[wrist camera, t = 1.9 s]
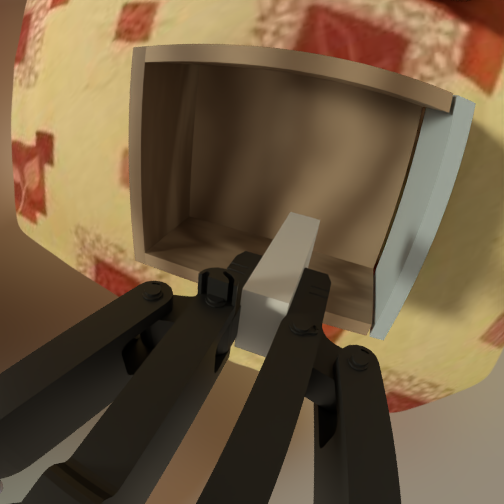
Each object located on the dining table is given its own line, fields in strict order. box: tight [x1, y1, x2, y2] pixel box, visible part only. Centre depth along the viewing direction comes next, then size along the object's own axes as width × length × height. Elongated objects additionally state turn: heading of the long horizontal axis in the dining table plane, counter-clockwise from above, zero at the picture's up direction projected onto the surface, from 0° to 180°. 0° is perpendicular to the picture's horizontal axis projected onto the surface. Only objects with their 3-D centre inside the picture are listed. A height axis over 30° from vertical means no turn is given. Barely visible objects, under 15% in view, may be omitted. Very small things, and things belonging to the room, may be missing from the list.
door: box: [370, 95, 476, 340], centre depth 20 cm, size 1×18×8 cm, turn 173°
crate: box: [129, 44, 453, 335], centre depth 23 cm, size 20×18×9 cm
